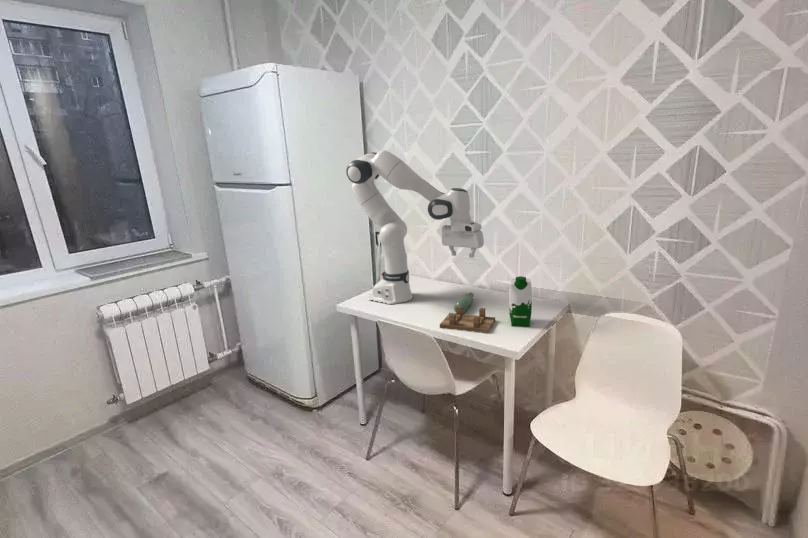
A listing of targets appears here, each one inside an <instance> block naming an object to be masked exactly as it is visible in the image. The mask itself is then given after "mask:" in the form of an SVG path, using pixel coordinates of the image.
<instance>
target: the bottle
mask: <svg viewBox="0 0 808 538" xmlns="http://www.w3.org/2000/svg"><path fill="white" fill-rule="evenodd" d="M474 298H475V293H474V292H472V291H470V292H467V293H465V294H463V296H461V298H460V299H459V300H458V302H456V304H455V305H454V307H453V310H454V312H455V313H456V307H457V306H462V314H464V313H465V312H466V311H467V309H469V307H470V306H471V305H472V303H473V302H474Z"/></svg>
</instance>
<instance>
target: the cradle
mask: <svg viewBox="0 0 808 538" xmlns="http://www.w3.org/2000/svg"><path fill="white" fill-rule="evenodd" d="M478 312H479V313H478V315H476V314H475V315H474V314H473V315H472V314H466V313H465V314H464V313H463V314H462V306H457V307H456V312H455V313H454V312H449V313H448V314H447V315H446V317H445V318H443V320H442V321H441V322H440V324H439V329H446V328H447V330H454V329H457V330H456V331H463V330H467V331H466V332H471V331H474V332H473V333H480V332H482V333H481V334H489V333H490V331H491V329H492V328H493V326H494V324H495V322H496V317H494V316H487V315H486V308H484V307H480V308H479V309H478Z"/></svg>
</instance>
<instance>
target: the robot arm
mask: <svg viewBox="0 0 808 538" xmlns="http://www.w3.org/2000/svg"><path fill="white" fill-rule="evenodd" d="M345 171H346V176H347V178H348V180H349V181H350V182H351V183H352V184H351V190H352V192H353V195H354V197H355V199H356V200H357V202H358V203H359V205H360V207H361V208H362V209H363V211H364V213H366V215H367V216H368V218H369V219H370V220H371V221H372V222H374V223H375V225H377V226H378V228H380V231H379V236H378V239H379V241H380V244H381V249H382V253H383V257H384V258H383V259H384V269H385V271H383V272H382V273H380V277H382V278H381V279H380V280H379V281H378V282H376V284H375V285H373V288H372V292H371V294H369V296H368V298H367V299H370V300H374V301H373V302H375V301H378V302H377V303H380V302H383V303H382V304H385V303H387V304H386V305H395V304H399V303H405V302H409V301H411V300H412V299H413V297H414V296H413V294H412V289H411V285H410V273H409V272H410V271H409V269H408V255H407V253H406V248H405V238H406V236H407V234H408V226H407V223H406V222H405V221H404V220H402V218H401V217H400V216H399V215H398V214H397V213H396V211H395V210H394V209H393V208H392V207H391V206H390V205H389V203H388V202H387V200H386V199H385V197H384V196H383V194H382V193H381V192H380V190H379V189H378V188H377V186H376V183H375V180H378V178H379V176H381V177H382V178H383V179H385V181H387V182H388V183H389V184H390V185H392V186H393V187H395V188H396V189H397V188H398V189H399V190H404V191H405V190H407V191H413V192H416V193H417V194H419V195H420V196H421V197H423V198H424V199H425V200H427V201H428V202H429V203H428V205H427V214H428V215H429V216H430V218H432V219H433V220H438V221H440V220H444V219H448V218H449V220H450V224H449V225H447V224H445V225H443V226H442V227H441V244H442V246H443V247H444V246H445V247H446V246H447V247H448V248H449V251H450V252H451V256H453V257H456V256H457V251H456V250H455V247H456V248H457V247H458V248H470V251H471V252H469V253H468V255H469V258H471V259H473V258H475V254H476V251H477V249H481V248H483V246H484V245H485V244H484V242H485V240H484V239H485V238H484V233H483V231H482V224H481V223H478V222H476V221H473V220H472V218H471V215H470V214H471V212H470V211H471V202H470V201H471V200H470V195H469V192H468V191H467V190H466V189H464V188H460V187H452V188H450V189H449V190H448V191H447V192H441V191H440V190H438V189H437V188H435V187H434V186H433V185H432V184H430V183H429V182H428V181H426V179H423V178H422V177H421V176H420V175H419V174H418V173H417V172H415V171H414V170H413V169H412V168H411V167H410V166H409V165H408V164H407V163H406V162H404V161H403V160H402V159H401V158H399V157H398V156H397V155H395V154H393V153H392V152H390V151H388V150H386V149H382V150H379V151H378V152H372V151H371V152H368V153H367V154H363V155H361V156H359V157H358V158H356V159H354V160H352V161H350V162H349V164H348V165H347V167H346V169H345ZM370 300H369V301H370Z"/></svg>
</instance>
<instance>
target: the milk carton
mask: <svg viewBox="0 0 808 538" xmlns="http://www.w3.org/2000/svg"><path fill="white" fill-rule="evenodd" d="M532 289H533V287H532V282H531V279H530V278H527V277H526V276H524V275H523V276H522V275H521V276H519V275H518V276H516V277H515V278H510V281H509V286H508V290H509V291H508V293H509V294H508V308H509V309H508V311H509V312H508V313H509V319H510V326H511V327H525V328H526V327H530V325H531V319H532V308H533V307H532V305H533V303H532V302H533V300H532V299H533V296H532V295H533V294H532V293H533V292H532Z"/></svg>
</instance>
